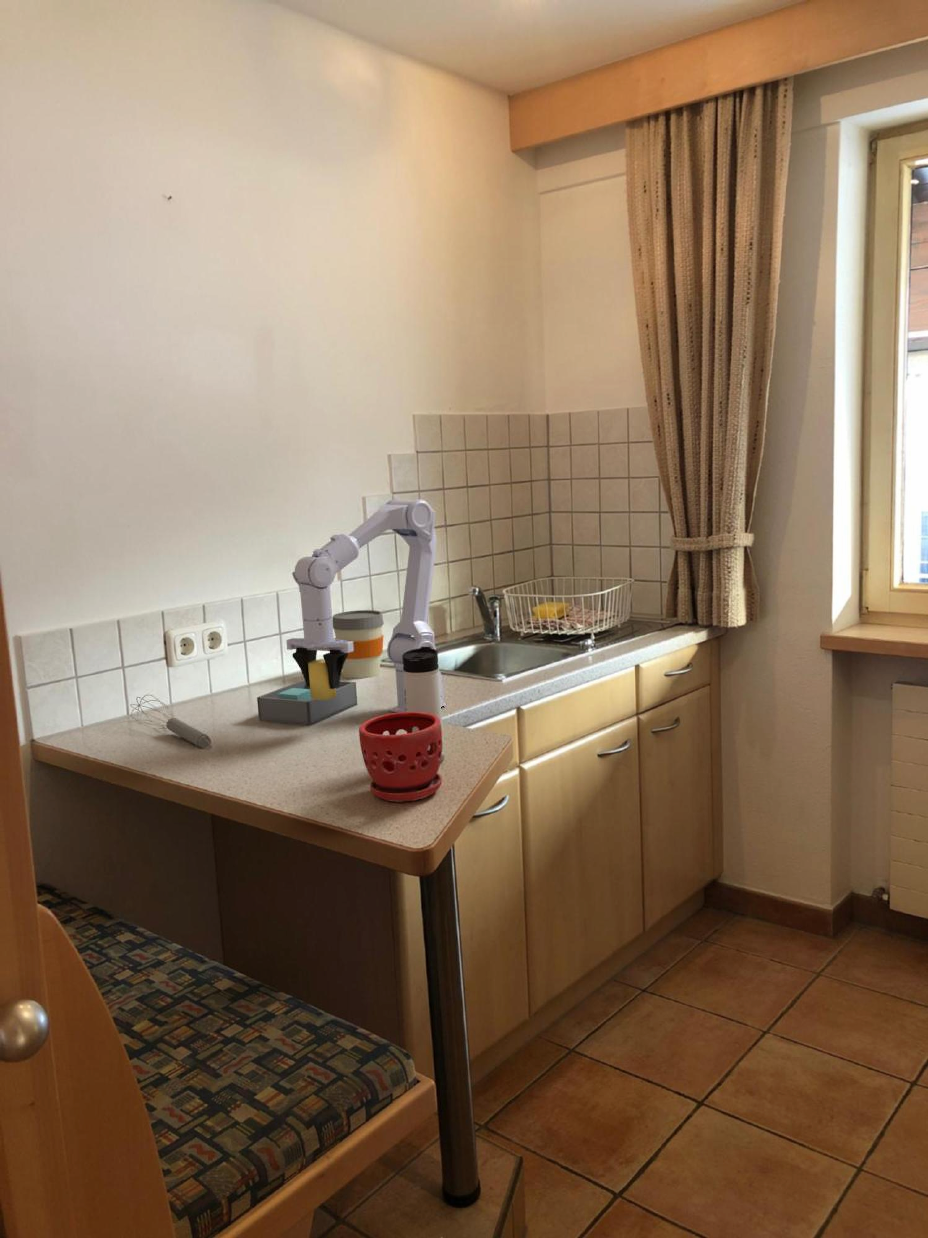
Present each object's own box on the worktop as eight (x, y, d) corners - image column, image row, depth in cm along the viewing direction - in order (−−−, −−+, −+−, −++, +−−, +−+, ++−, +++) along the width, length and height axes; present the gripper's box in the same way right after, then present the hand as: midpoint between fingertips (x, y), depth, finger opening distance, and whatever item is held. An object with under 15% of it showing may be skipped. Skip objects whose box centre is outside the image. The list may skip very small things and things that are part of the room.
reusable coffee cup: (359, 666, 260) (355, 608, 258) (397, 671, 253) (393, 611, 250) (325, 677, 250) (320, 617, 248) (363, 682, 243) (359, 620, 240)
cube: (313, 712, 215) (311, 689, 214) (299, 718, 211) (297, 695, 210) (294, 710, 217) (292, 688, 217) (279, 716, 213) (277, 693, 212)
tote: (308, 700, 228) (306, 678, 227) (357, 704, 222) (355, 682, 221) (259, 720, 213) (257, 697, 213) (310, 725, 207) (308, 701, 206)
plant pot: (381, 778, 172) (376, 709, 170) (455, 782, 169) (451, 711, 166) (351, 805, 160) (345, 732, 158) (430, 810, 156) (425, 734, 154)
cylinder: (341, 694, 201) (338, 659, 200) (326, 700, 197) (323, 665, 196) (320, 692, 204) (317, 658, 202) (305, 698, 199) (302, 663, 198)
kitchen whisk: (196, 755, 192) (193, 722, 191) (126, 724, 218) (123, 695, 217) (226, 747, 196) (223, 715, 195) (153, 718, 222) (150, 690, 221)
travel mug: (449, 755, 183) (443, 646, 179) (436, 767, 176) (430, 654, 173) (417, 754, 185) (410, 645, 181) (403, 765, 178) (396, 653, 175)
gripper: (274, 620, 197) (280, 689, 200) (336, 623, 191) (342, 694, 193) (296, 614, 204) (302, 680, 206) (357, 616, 197) (362, 685, 199)
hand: (322, 686), depth 200 cm, fingers closed on cylinder, 5 cm apart
